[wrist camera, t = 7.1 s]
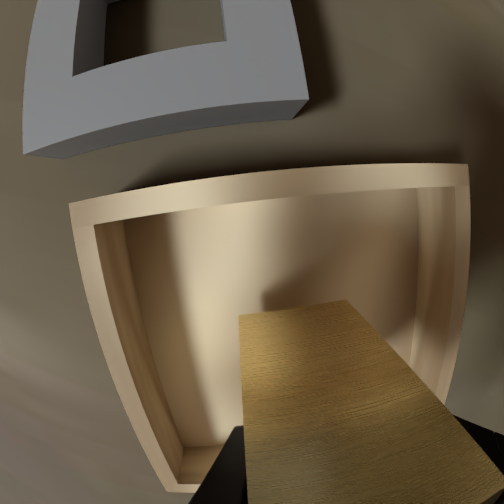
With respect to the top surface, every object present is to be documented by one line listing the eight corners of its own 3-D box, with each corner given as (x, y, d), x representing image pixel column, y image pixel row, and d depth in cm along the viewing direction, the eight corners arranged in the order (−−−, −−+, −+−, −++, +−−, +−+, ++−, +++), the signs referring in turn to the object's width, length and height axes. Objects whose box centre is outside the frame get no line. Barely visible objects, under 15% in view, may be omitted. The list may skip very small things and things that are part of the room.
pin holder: (261, -50, 9) (266, -86, 7) (291, 119, 12) (309, 99, 9) (72, -11, 9) (48, -37, 6) (62, 159, 11) (23, 154, 8)
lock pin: (346, 299, 11) (509, 483, 2) (344, 384, 12) (436, 561, 3) (238, 315, 11) (253, 576, 2) (251, 400, 12) (273, 608, 3)
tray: (419, 166, 12) (467, 164, 9) (404, 408, 15) (430, 444, 12) (109, 198, 12) (68, 203, 8) (175, 446, 15) (166, 491, 11)
